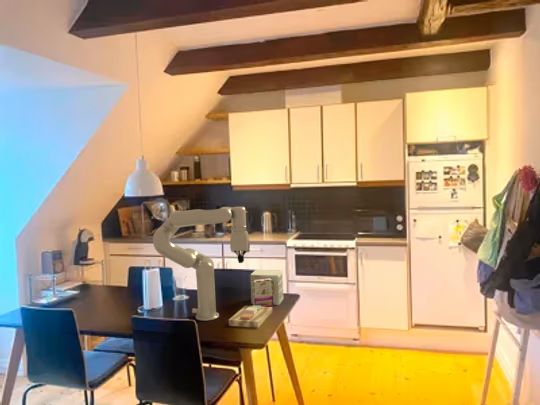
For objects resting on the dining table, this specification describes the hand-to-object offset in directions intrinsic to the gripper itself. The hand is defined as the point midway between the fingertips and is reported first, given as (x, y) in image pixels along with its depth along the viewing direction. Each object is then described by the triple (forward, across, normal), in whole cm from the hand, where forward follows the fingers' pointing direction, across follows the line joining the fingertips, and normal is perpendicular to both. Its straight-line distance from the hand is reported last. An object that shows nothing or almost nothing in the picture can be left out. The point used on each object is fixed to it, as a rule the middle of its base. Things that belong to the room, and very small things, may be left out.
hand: (241, 262), depth 243 cm
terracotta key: (+28, +7, -13) cm, 31 cm away
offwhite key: (+27, +7, -6) cm, 28 cm away
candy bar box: (+29, +7, +14) cm, 33 cm away
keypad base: (+29, +7, -6) cm, 31 cm away
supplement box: (+29, +6, +25) cm, 39 cm away
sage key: (+28, +7, +1) cm, 29 cm away
